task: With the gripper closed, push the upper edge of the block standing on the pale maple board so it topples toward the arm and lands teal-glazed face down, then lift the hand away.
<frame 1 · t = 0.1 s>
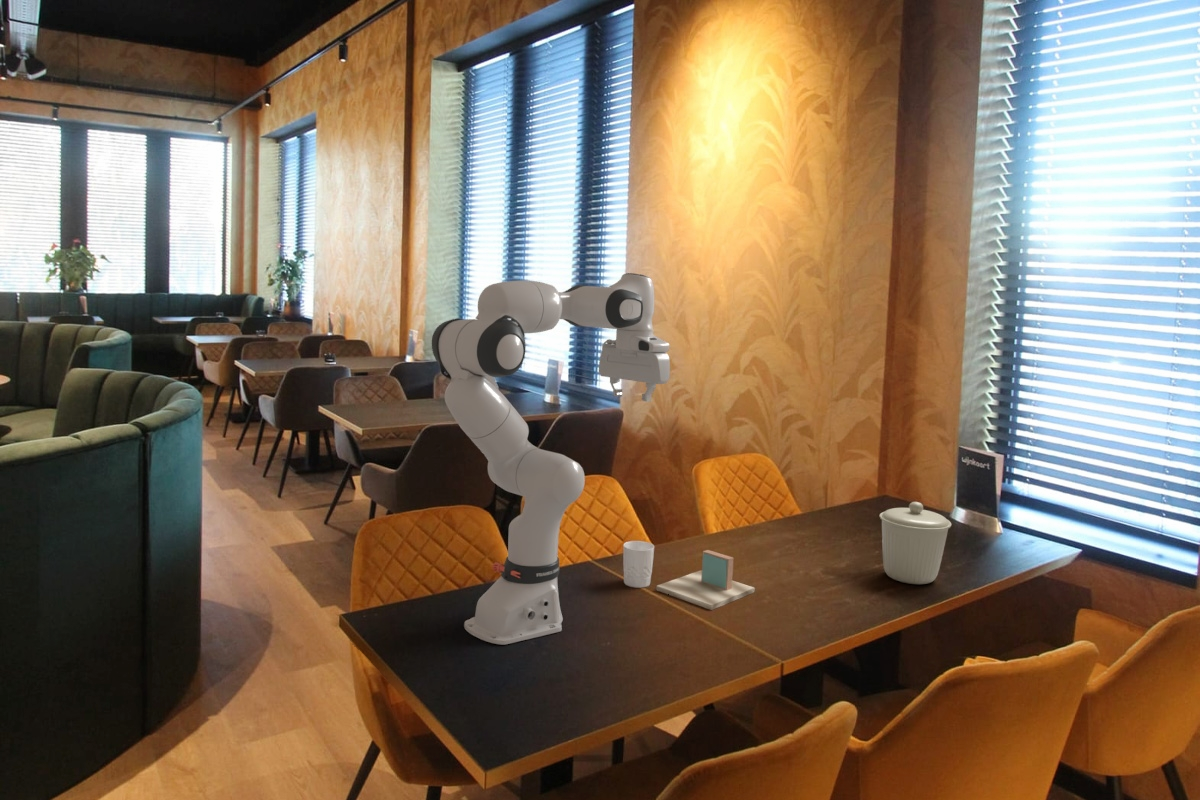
hand: (631, 398, 207), 48 cm above the table, fingers open, 8 cm apart
block: (716, 585, 215), point 1 cm above the table, touching board
board: (705, 591, 213), on the table
white cup: (637, 584, 217), on the table
canister: (909, 578, 229), on the table
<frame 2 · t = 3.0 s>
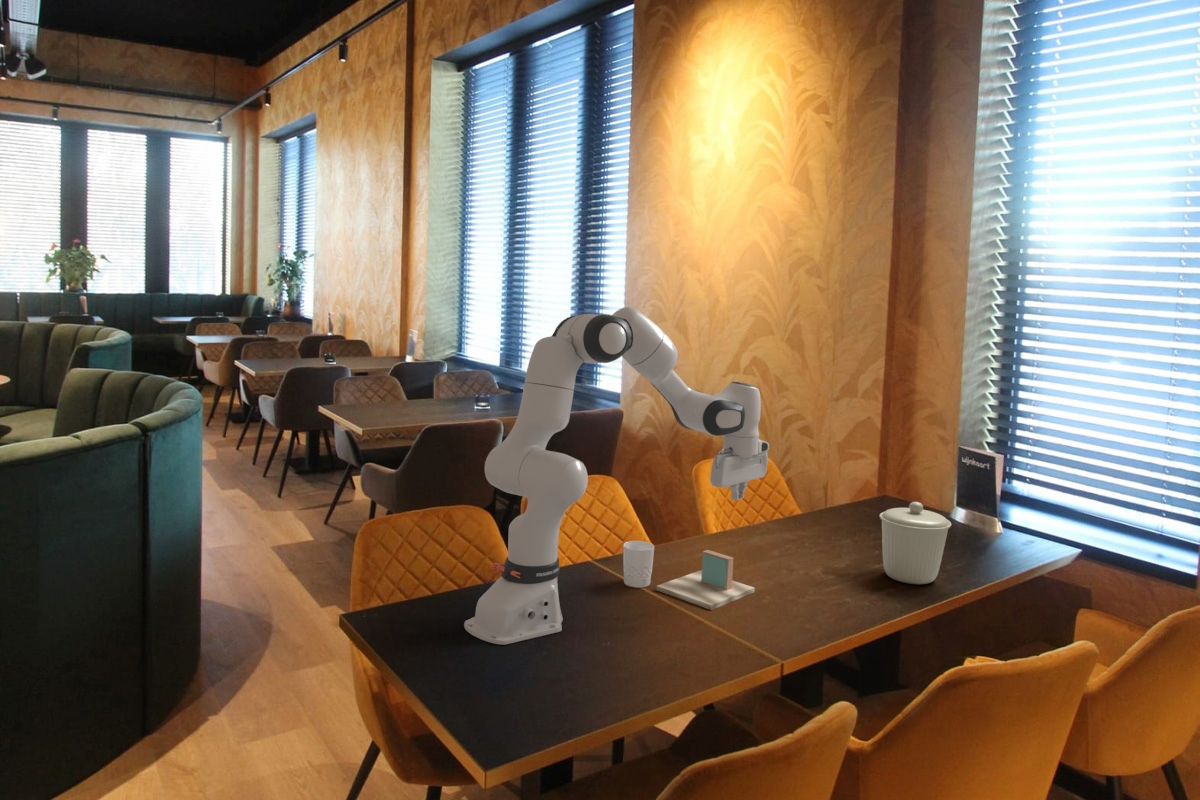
hand: (737, 499, 217), 22 cm above the table, fingers closed
nothing on the table moved.
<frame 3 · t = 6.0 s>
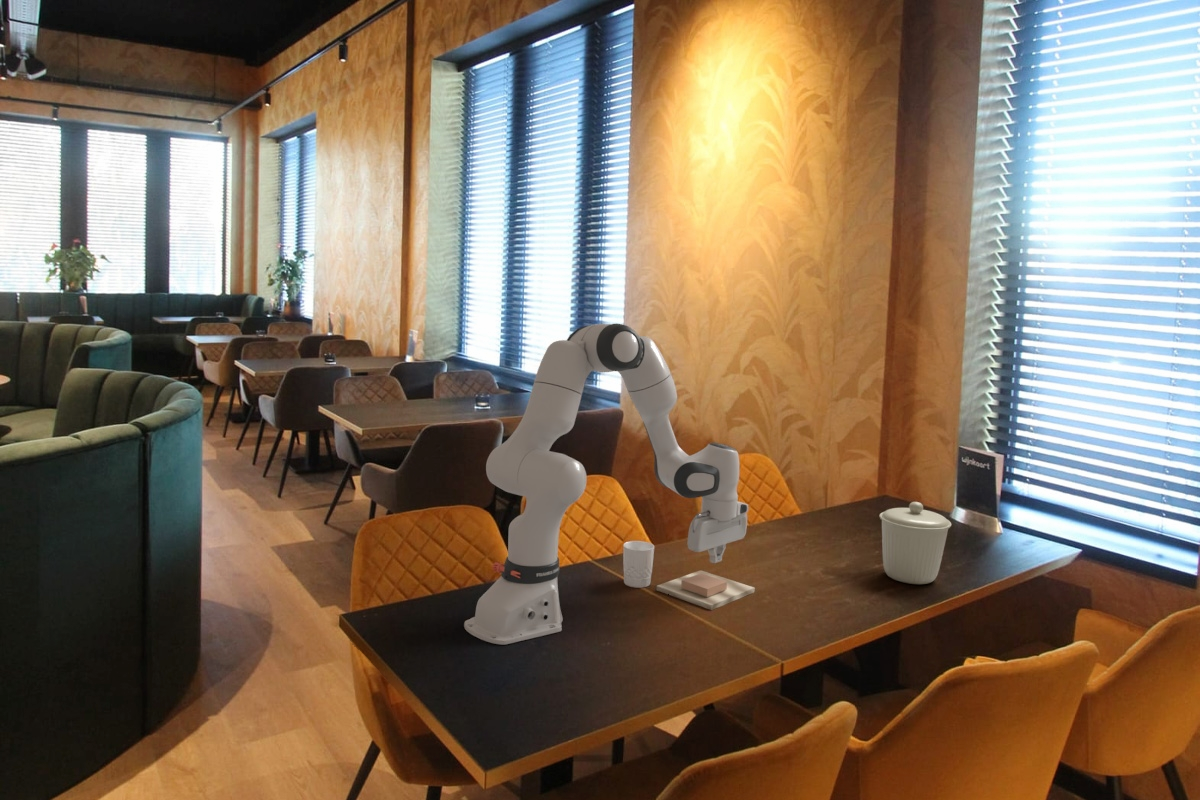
hand: (715, 561, 213), 7 cm above the table, fingers closed
block: (713, 581, 214), point 2 cm above the table, tilted 90°, touching board
everything else where it was.
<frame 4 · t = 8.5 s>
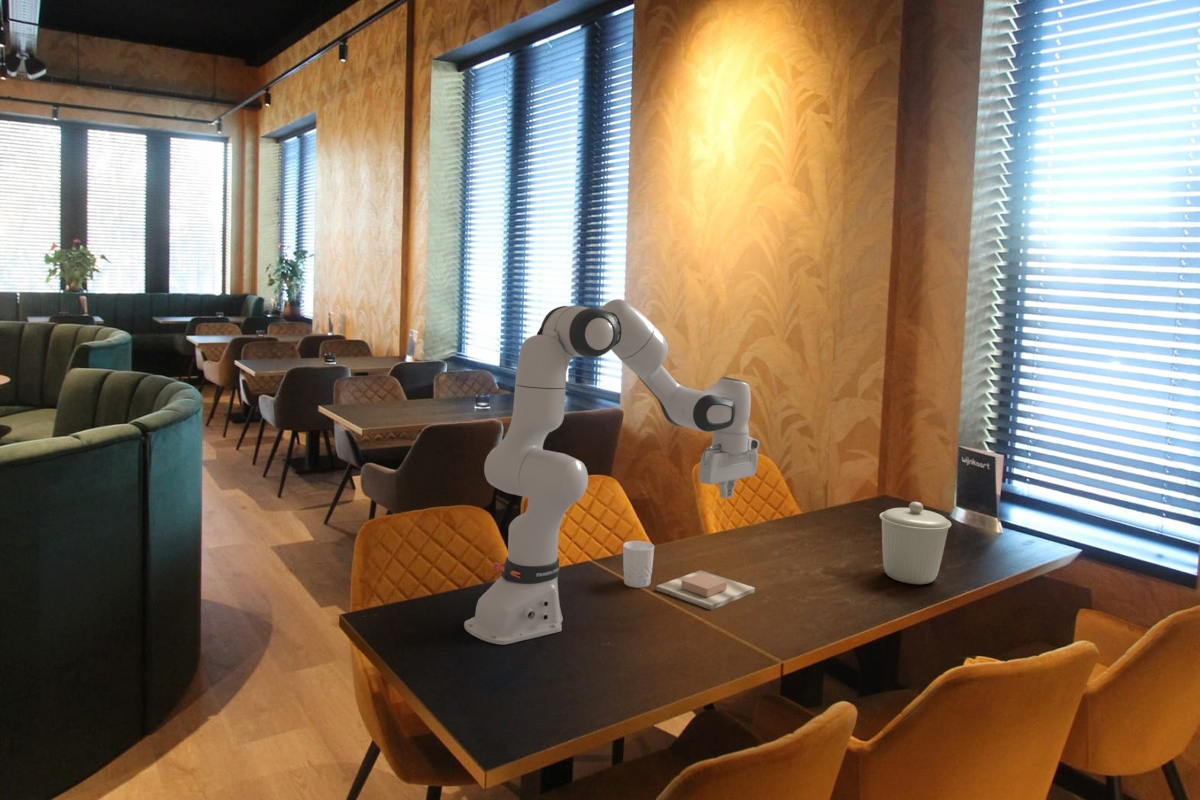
hand: (726, 497, 213), 24 cm above the table, fingers closed
nothing on the table moved.
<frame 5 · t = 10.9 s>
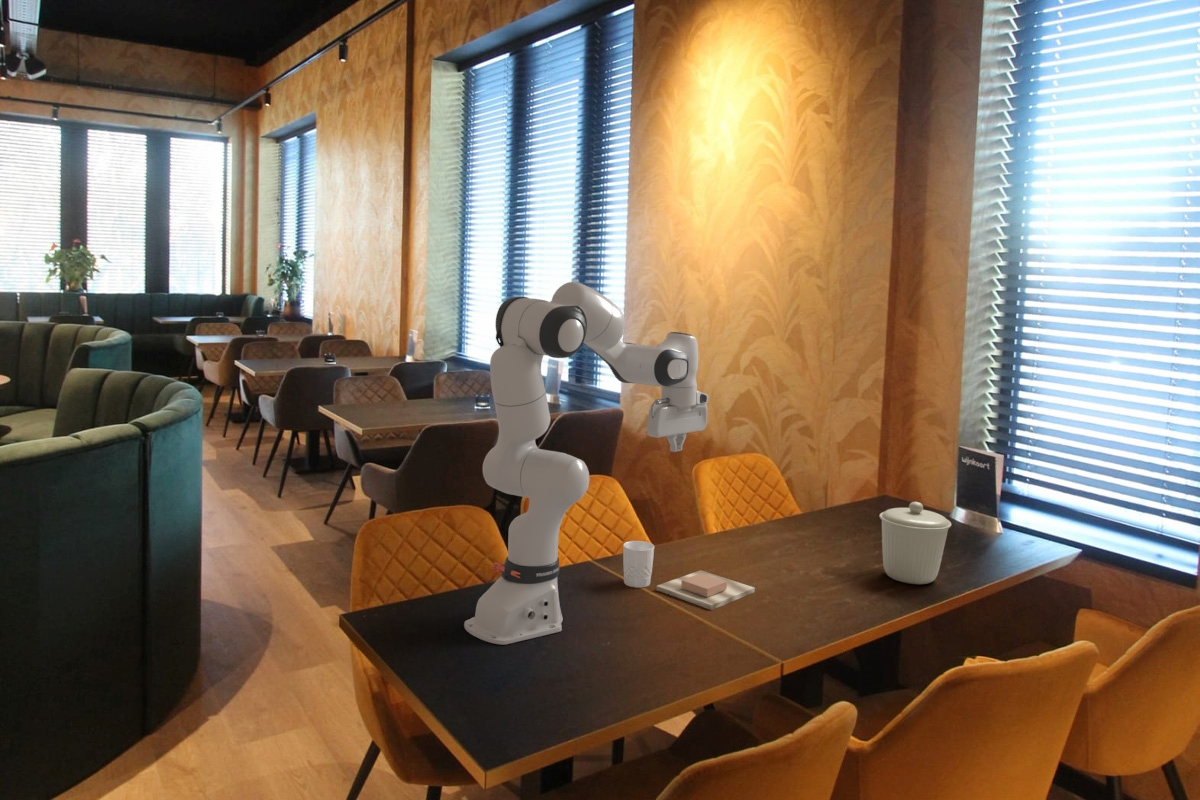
hand: (675, 451, 215), 34 cm above the table, fingers closed
nothing on the table moved.
at the end: block tilted 90°; block inside the target area (1.9 cm from its centre), point 2.5 cm above the table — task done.
